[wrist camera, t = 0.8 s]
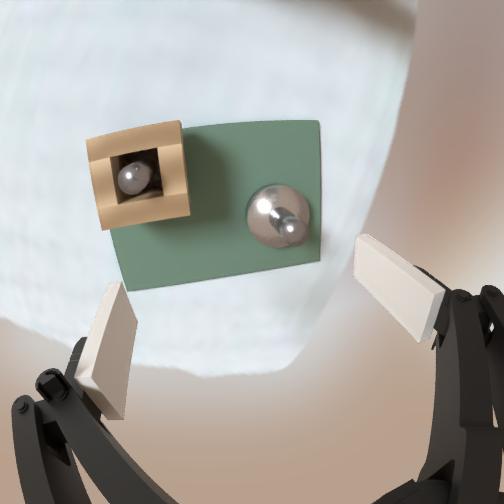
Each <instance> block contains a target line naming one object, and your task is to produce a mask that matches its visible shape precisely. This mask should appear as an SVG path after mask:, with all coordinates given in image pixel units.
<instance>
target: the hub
mask: <svg viewBox="0 0 504 504" xmlns="http://www.w3.org/2000/svg"><path fill="white" fill-rule="evenodd" d="M309 217H310V212H309V206H308V203H307V201H306V199H305V198H304V196H303V195H302V194H301V193H300V192H298V191H297V190H295V189H293V188H292V187H290V186H287V185H285V184H280V183H273V184H268V185H265V186H263V187H261V188H260V189H258V190H257V191H256V192H255V193H254V194H253V195H252V196H251V197H250V199H249V201H248V203H247V205H246V209H245V221H246V224H247V227H248V229H249V230H250V232H251V233H252V235H253V237H254V238H255V239H256V240H257V241H258V242H259V243H261V244H263V245H265V246H267V247H272V248H281V247H285V246H288V245H290V246H294V247H298V246H301V245H303V244H304V243H305V242H306V241H307V240H308V238H309V234H310V231H309V227H308V223H309Z"/></svg>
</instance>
